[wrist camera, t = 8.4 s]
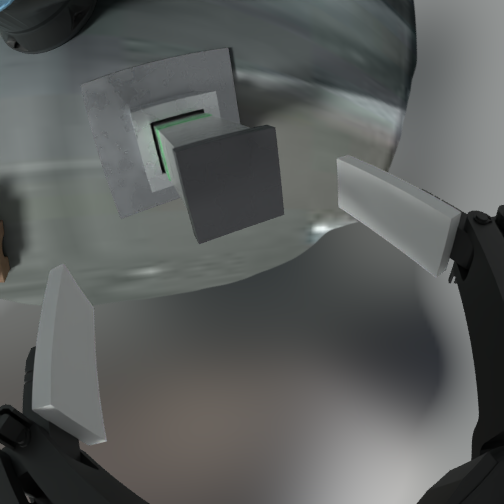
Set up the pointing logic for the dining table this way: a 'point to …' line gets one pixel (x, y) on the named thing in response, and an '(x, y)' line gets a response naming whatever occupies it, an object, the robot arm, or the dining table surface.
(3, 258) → the wooden puzzle
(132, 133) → the stand
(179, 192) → the column
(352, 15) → the dining table surface
